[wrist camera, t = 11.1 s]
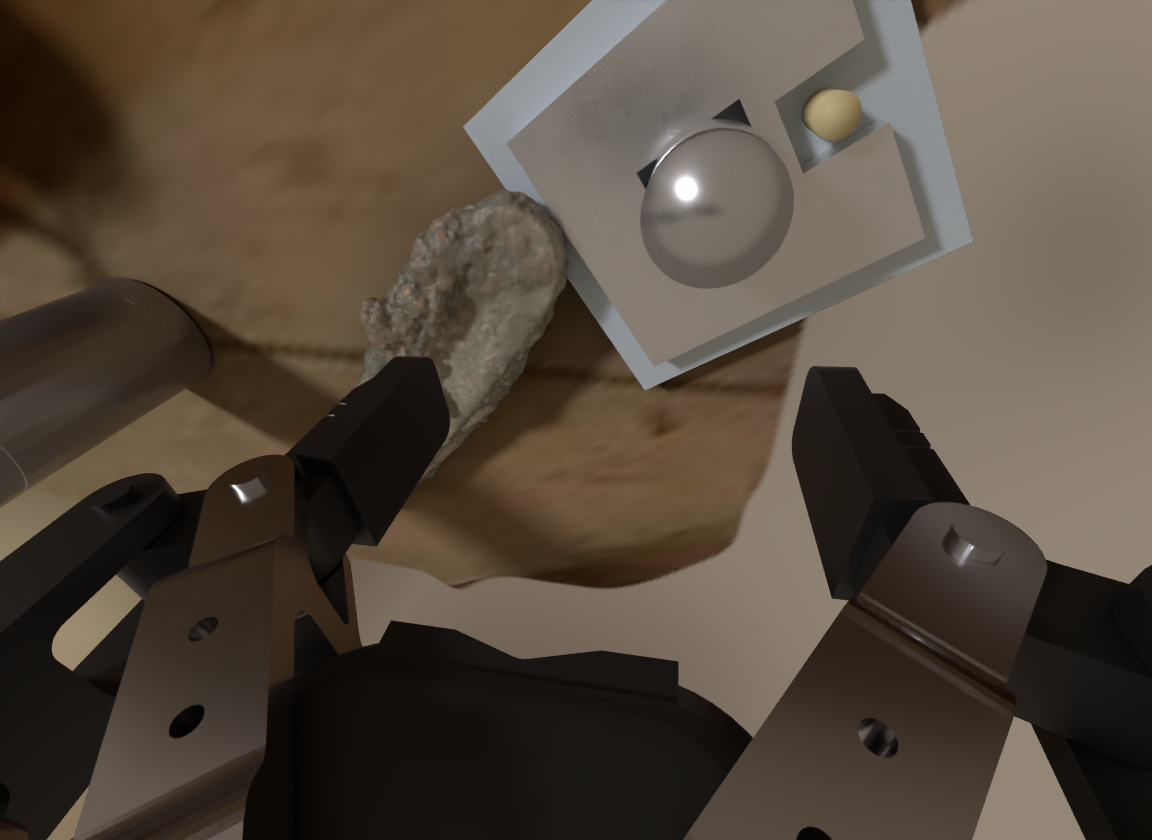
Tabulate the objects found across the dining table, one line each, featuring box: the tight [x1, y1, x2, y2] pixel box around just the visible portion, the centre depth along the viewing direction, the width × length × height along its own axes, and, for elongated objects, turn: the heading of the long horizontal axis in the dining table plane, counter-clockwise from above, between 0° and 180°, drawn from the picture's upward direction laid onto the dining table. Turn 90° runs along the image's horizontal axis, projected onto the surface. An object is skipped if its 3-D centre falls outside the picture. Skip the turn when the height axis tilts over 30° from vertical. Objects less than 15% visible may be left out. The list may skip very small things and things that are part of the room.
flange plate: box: [506, 0, 925, 367], centre depth 20 cm, size 14×14×7 cm
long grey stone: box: [354, 190, 569, 492], centre depth 34 cm, size 35×5×10 cm
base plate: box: [463, 0, 973, 390], centre depth 22 cm, size 18×18×4 cm
